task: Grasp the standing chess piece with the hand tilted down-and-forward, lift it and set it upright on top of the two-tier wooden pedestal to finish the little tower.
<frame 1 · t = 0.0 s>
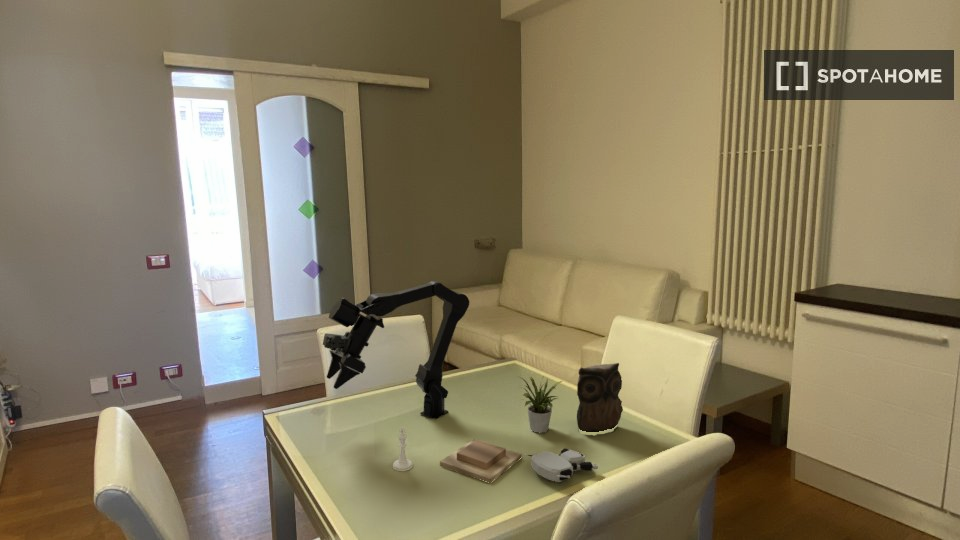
hand: (331, 383, 147), 15 cm above the table, tool tilted 35°, fingers open, 9 cm apart
robot toy: (561, 473, 128), on the table
chess piece: (402, 467, 131), on the table
house plant: (534, 430, 153), on the table
owl: (595, 427, 155), on the table
pedestal: (481, 461, 133), on the table
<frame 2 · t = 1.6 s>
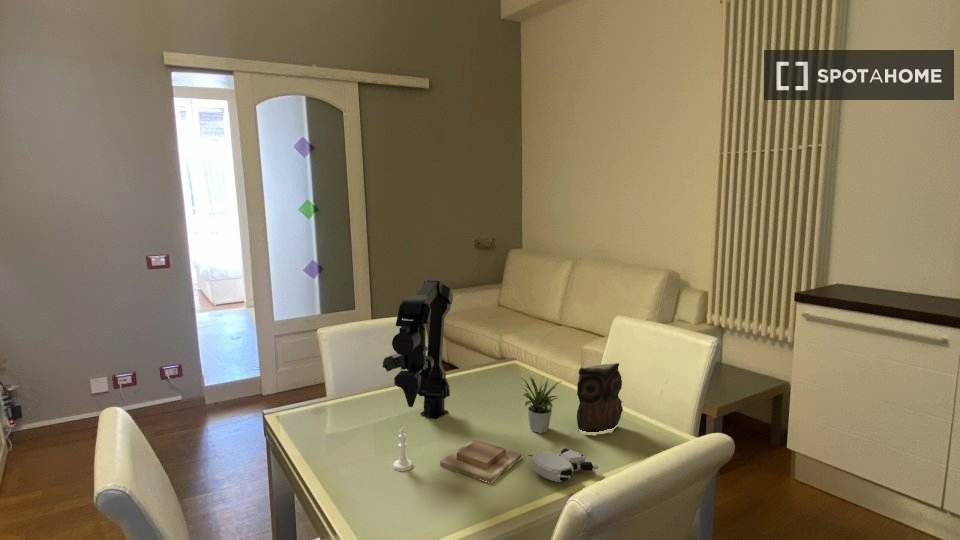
hand: (415, 400, 142), 12 cm above the table, tool pointing down, fingers open, 9 cm apart
nothing on the table moved.
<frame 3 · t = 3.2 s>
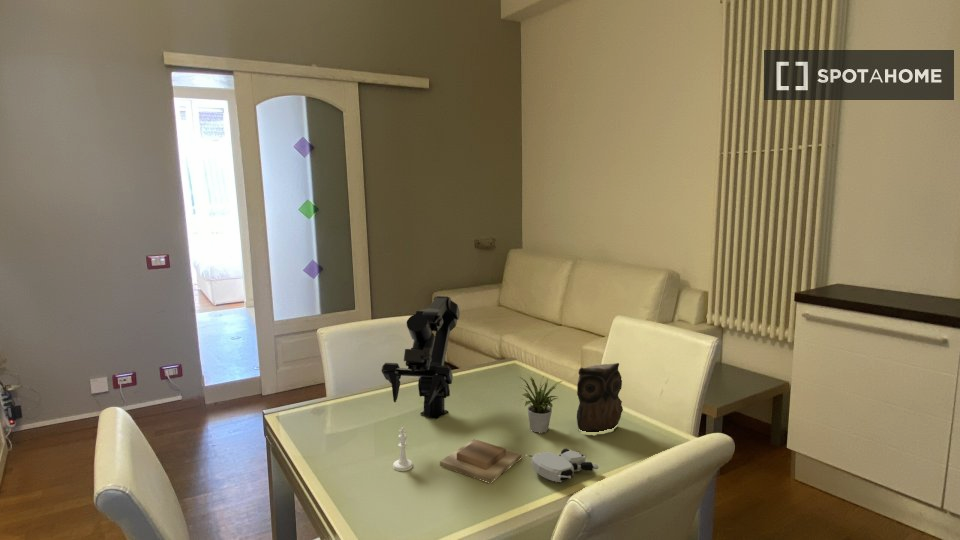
hand: (411, 402, 137), 13 cm above the table, tool tilted 45°, fingers open, 9 cm apart
nothing on the table moved.
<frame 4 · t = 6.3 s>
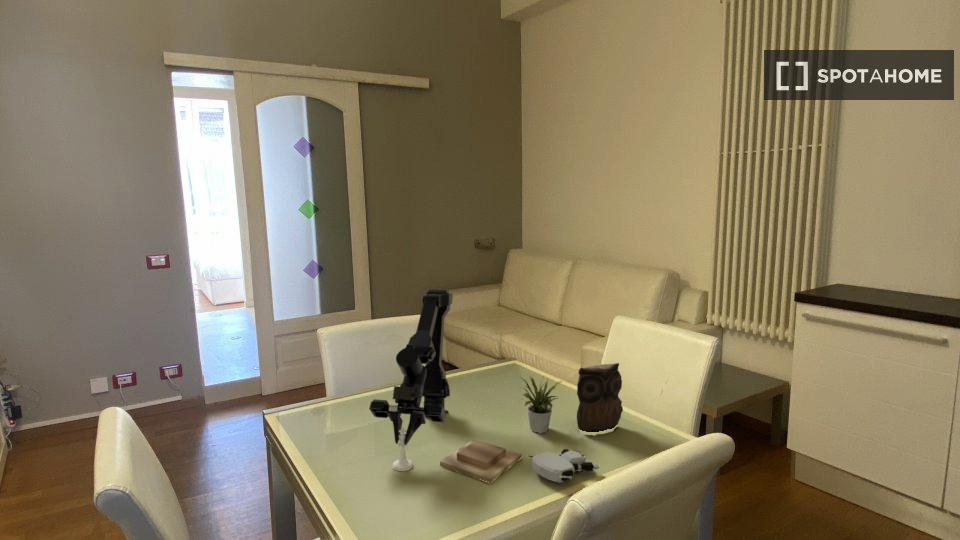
hand: (400, 443, 128), 7 cm above the table, tool tilted 45°, fingers closed on chess piece
chess piece: (402, 466, 131), on the table, touching gripper
everything else where it was.
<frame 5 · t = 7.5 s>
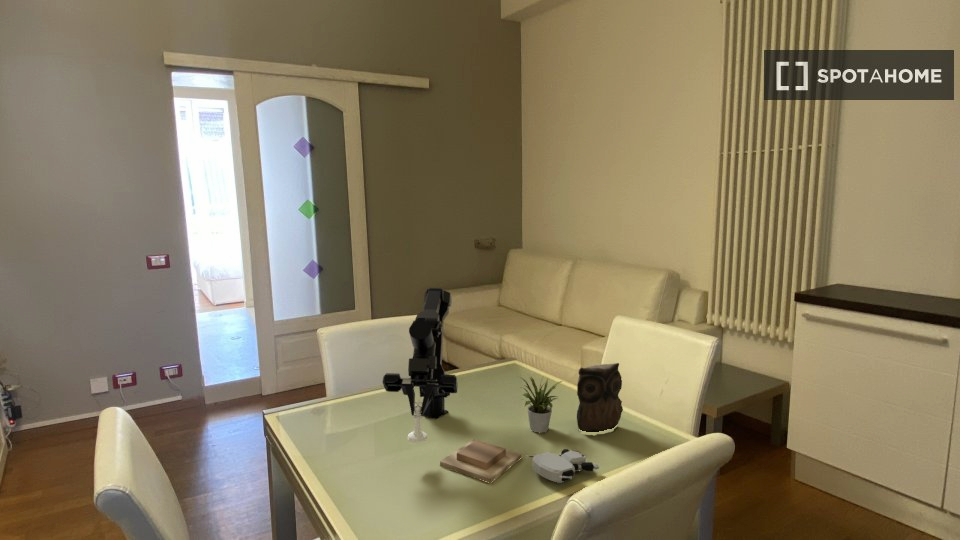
hand: (417, 415, 129), 13 cm above the table, tool tilted 45°, fingers closed on chess piece
chess piece: (417, 438, 131), point 7 cm above the table, touching gripper
everything else where it was.
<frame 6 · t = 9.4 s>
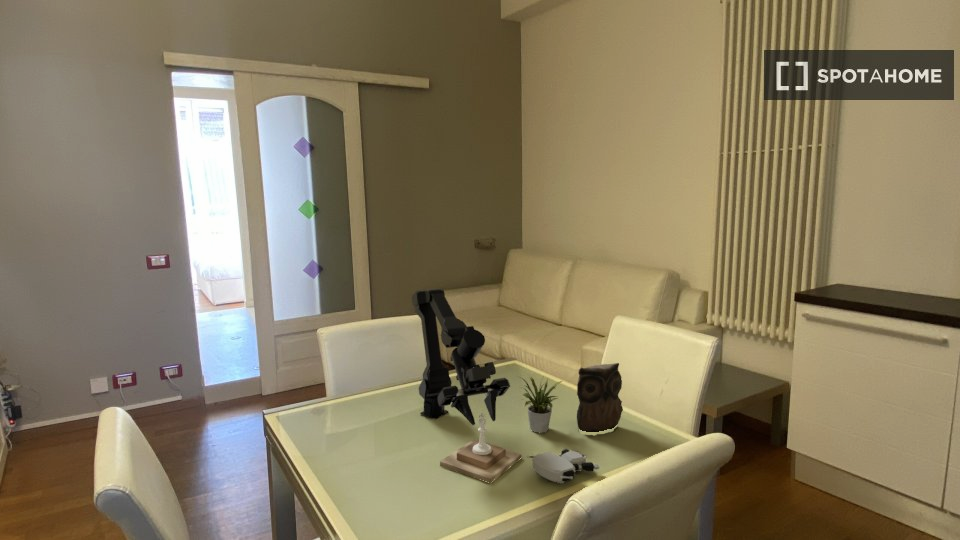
hand: (484, 422, 130), 11 cm above the table, tool tilted 45°, fingers open, 5 cm apart
chess piece: (482, 451, 133), point 3 cm above the table, touching pedestal
everything else where it was.
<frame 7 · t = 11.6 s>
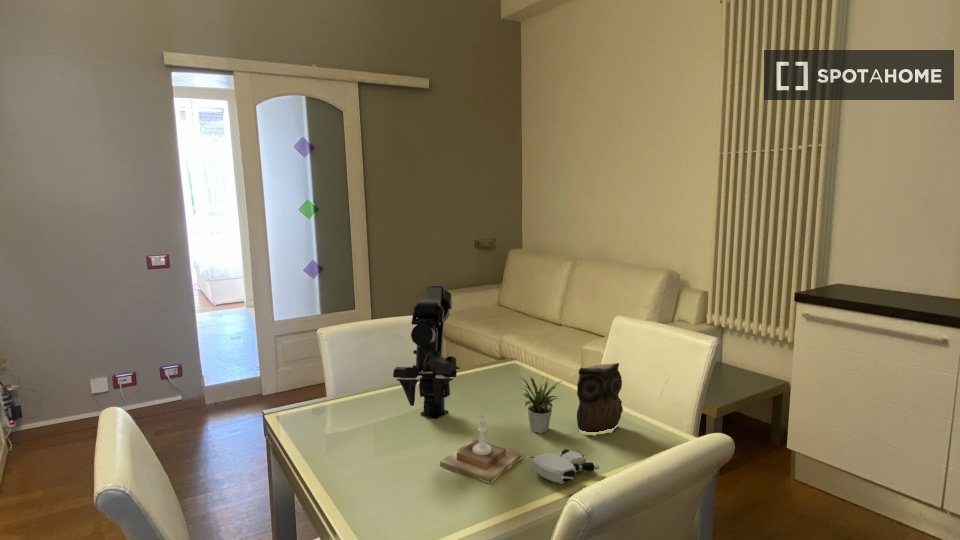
hand: (425, 404, 142), 11 cm above the table, tool tilted 15°, fingers open, 9 cm apart
nothing on the table moved.
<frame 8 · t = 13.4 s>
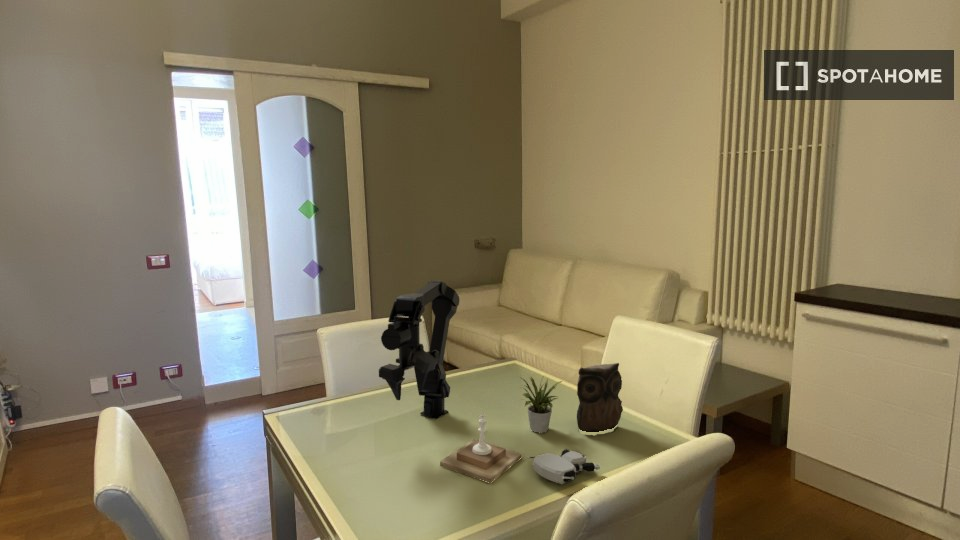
hand: (409, 395, 146), 12 cm above the table, tool pointing down, fingers open, 9 cm apart
nothing on the table moved.
at the end: chess piece inside the target area on the pedestal (0.2 cm from its centre), point 2.8 cm above the pedestal's base; chess piece tilted 0°; the gripper is holding nothing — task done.
